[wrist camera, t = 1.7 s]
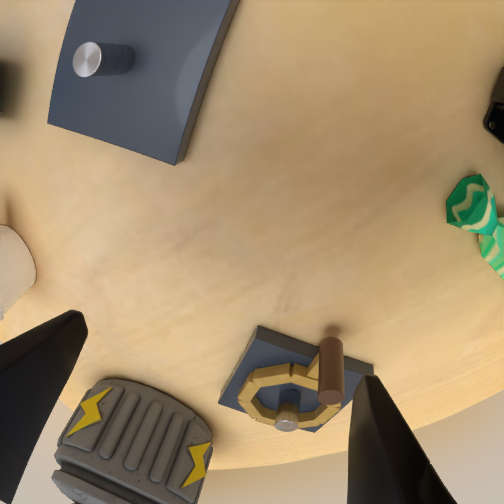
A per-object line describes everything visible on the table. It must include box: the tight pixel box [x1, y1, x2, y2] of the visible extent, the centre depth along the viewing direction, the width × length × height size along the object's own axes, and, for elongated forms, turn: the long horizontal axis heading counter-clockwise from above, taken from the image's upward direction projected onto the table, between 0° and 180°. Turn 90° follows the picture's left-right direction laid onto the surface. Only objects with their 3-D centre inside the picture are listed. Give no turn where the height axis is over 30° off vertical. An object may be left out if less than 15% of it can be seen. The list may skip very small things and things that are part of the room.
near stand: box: [47, 0, 239, 166], centre depth 15 cm, size 11×11×5 cm
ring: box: [237, 337, 344, 429], centre depth 24 cm, size 13×9×5 cm
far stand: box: [218, 326, 374, 433], centre depth 26 cm, size 11×11×5 cm
